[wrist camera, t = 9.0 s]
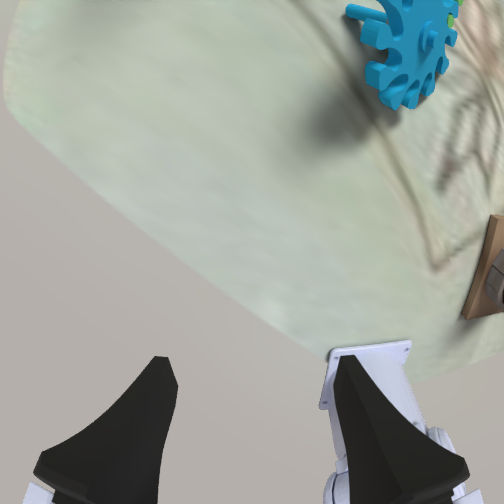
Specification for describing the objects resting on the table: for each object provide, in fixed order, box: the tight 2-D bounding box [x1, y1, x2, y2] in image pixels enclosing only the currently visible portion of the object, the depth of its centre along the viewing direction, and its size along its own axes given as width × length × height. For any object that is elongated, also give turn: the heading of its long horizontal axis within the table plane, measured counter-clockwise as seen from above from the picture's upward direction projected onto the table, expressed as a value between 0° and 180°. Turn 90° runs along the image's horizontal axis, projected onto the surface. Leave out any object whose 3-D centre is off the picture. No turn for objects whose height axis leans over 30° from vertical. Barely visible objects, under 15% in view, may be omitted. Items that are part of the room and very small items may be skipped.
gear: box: [346, 0, 463, 111], centre depth 10 cm, size 11×6×10 cm
